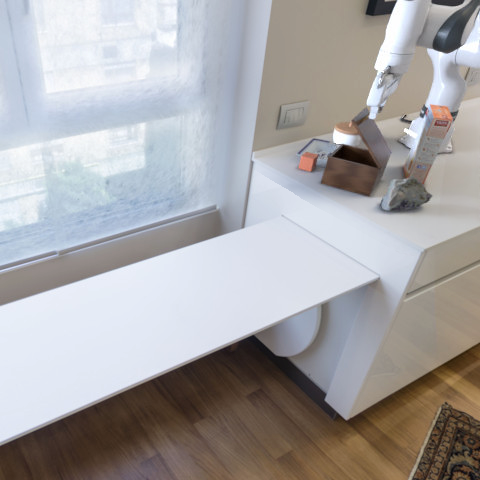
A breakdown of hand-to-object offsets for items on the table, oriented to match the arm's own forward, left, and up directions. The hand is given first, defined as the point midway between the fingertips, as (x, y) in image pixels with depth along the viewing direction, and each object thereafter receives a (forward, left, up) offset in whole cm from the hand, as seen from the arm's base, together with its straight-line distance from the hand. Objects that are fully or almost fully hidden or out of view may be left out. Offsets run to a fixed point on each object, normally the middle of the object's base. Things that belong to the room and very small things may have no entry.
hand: (375, 115), depth 131 cm
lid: (0, +1, -6) cm, 7 cm away
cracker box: (-18, +15, -22) cm, 32 cm away
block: (-2, -17, -21) cm, 27 cm away
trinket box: (-28, -12, -22) cm, 37 cm away
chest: (0, -1, -21) cm, 21 cm away
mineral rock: (+9, +18, -22) cm, 29 cm away
